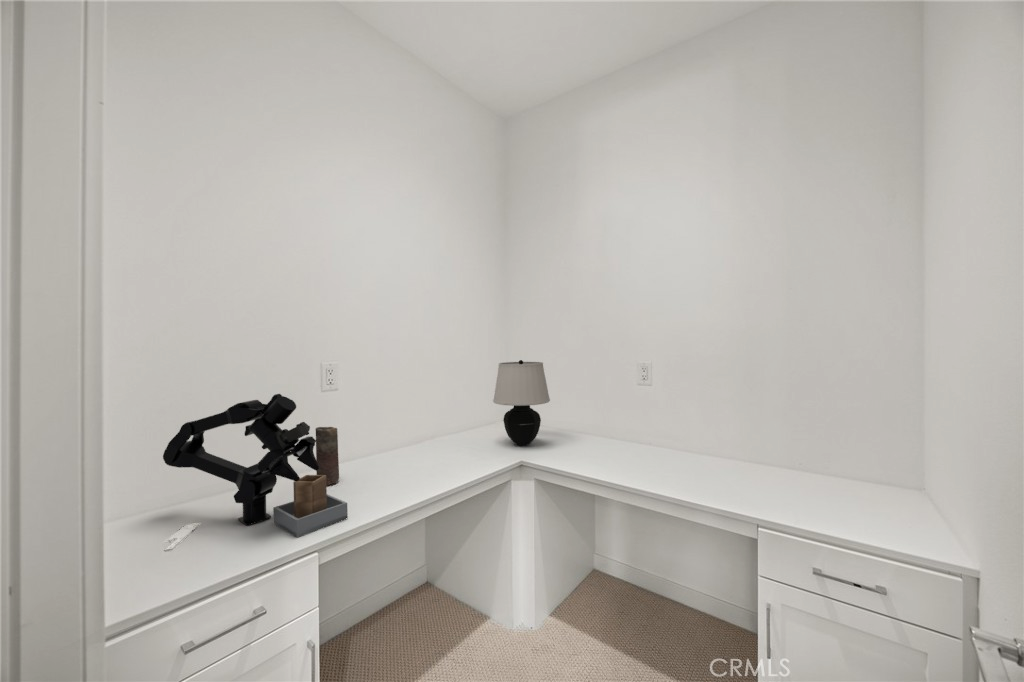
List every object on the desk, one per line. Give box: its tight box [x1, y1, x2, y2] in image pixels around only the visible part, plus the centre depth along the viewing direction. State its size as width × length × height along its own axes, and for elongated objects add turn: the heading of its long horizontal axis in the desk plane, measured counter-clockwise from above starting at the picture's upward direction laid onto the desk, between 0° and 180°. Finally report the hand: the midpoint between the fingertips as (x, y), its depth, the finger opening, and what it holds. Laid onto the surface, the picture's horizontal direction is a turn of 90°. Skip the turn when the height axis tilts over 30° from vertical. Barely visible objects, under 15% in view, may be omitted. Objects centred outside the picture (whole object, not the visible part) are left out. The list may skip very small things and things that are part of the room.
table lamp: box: [492, 359, 551, 446], centre depth 197 cm, size 27×27×40 cm
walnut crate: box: [292, 474, 328, 519], centre depth 117 cm, size 6×6×11 cm
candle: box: [315, 426, 340, 486], centre depth 148 cm, size 8×7×20 cm
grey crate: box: [272, 493, 349, 539], centre depth 117 cm, size 14×14×4 cm
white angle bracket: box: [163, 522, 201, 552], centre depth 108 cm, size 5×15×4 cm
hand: (308, 474), depth 117 cm, fingers open, 9 cm apart
